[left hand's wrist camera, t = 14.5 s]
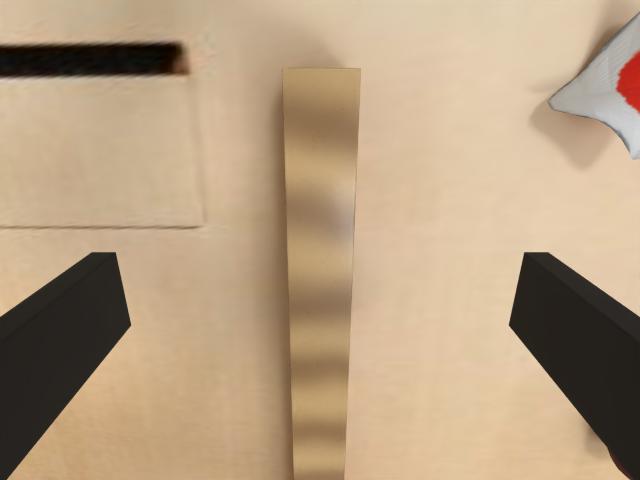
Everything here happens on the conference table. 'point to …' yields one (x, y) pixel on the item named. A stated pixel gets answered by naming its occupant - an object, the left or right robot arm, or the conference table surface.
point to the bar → (320, 258)
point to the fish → (610, 87)
